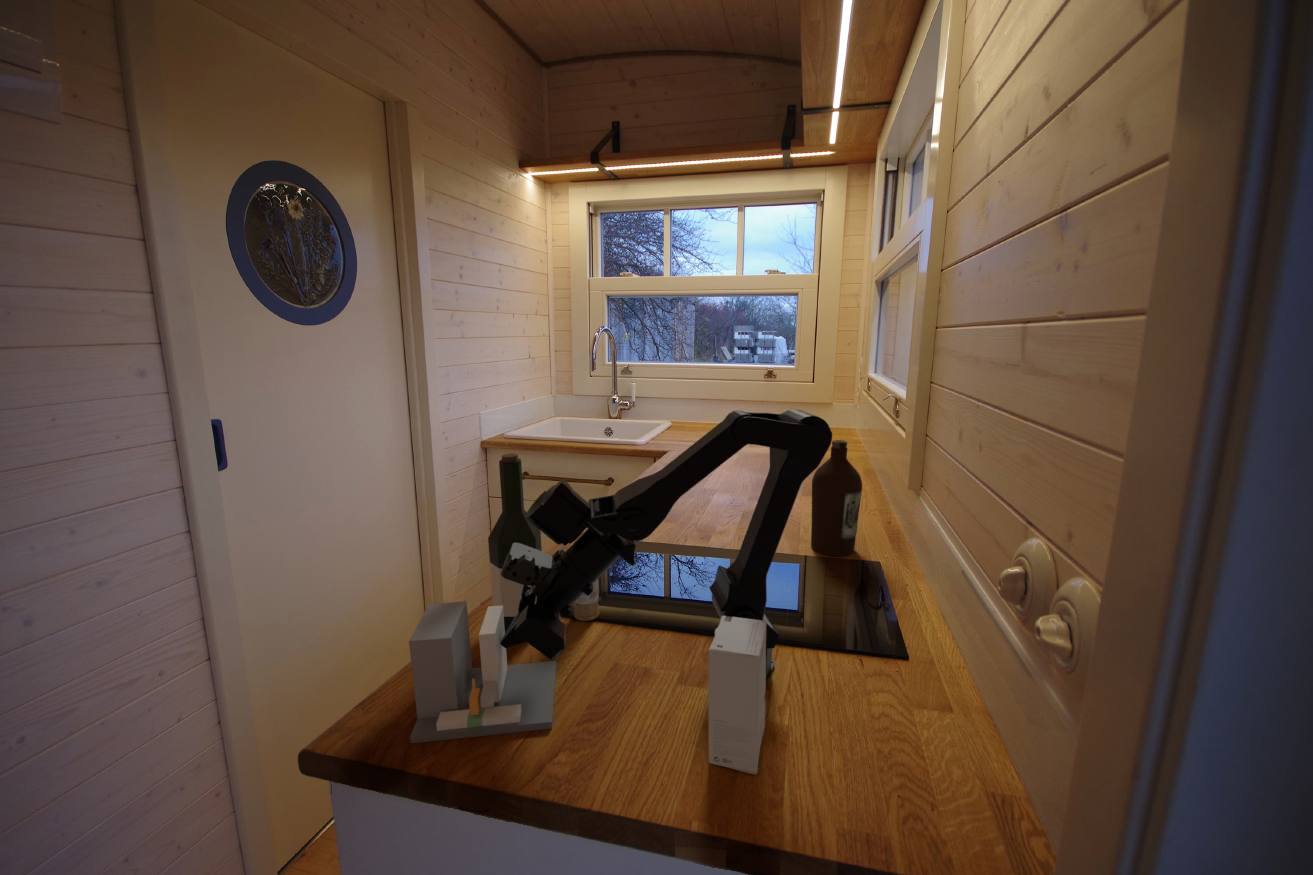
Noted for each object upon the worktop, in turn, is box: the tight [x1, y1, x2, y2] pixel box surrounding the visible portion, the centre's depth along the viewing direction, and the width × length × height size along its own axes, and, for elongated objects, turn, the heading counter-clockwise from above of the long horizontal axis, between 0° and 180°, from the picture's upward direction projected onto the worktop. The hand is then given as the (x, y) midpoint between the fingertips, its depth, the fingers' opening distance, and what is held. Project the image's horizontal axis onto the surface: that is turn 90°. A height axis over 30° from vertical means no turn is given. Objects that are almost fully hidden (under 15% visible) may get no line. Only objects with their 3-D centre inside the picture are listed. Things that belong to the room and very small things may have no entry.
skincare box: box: [707, 616, 767, 776], centre depth 63 cm, size 8×6×15 cm
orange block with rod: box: [469, 678, 481, 715], centre depth 66 cm, size 1×2×4 cm, turn 8°
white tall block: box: [478, 605, 508, 708], centre depth 70 cm, size 2×10×10 cm, turn 8°
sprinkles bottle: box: [573, 578, 600, 622], centre depth 92 cm, size 5×5×14 cm
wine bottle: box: [487, 452, 543, 633], centre depth 86 cm, size 8×8×30 cm
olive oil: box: [810, 439, 863, 557], centre depth 118 cm, size 11×11×25 cm
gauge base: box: [408, 600, 558, 744], centre depth 70 cm, size 17×12×12 cm
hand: (503, 644), depth 72 cm, fingers closed, pressing on white tall block
